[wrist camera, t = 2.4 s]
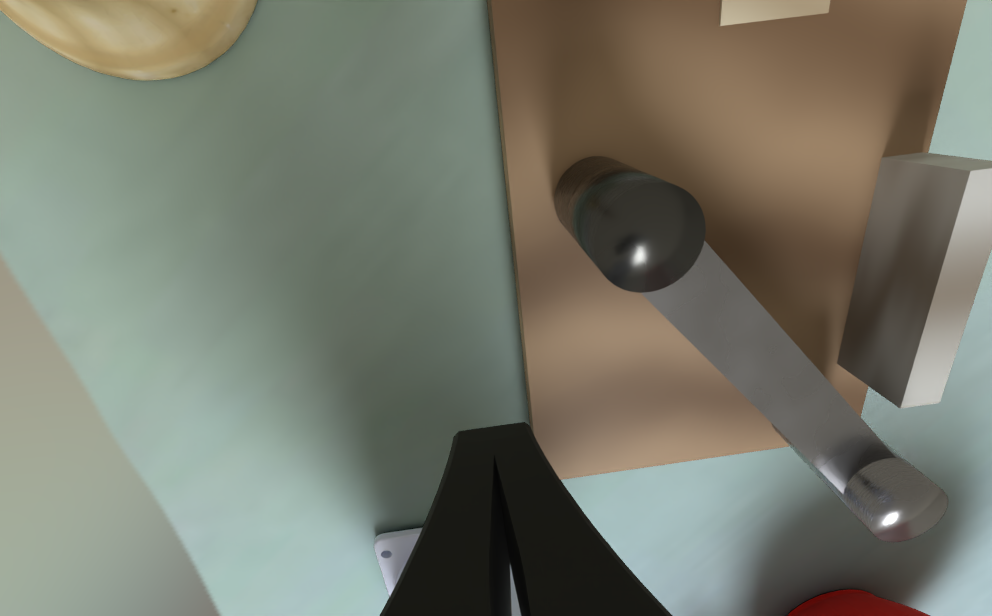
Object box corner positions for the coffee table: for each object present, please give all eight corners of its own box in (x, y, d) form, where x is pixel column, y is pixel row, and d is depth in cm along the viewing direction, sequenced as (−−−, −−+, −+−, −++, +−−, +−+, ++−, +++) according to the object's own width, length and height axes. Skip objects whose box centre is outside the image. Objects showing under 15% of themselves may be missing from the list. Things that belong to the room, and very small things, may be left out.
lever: (841, 409, 20) (963, 508, 15) (788, 447, 20) (889, 554, 16) (597, 137, 15) (666, 158, 10) (537, 200, 15) (574, 249, 10)
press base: (830, 415, 22) (915, 488, 18) (533, 458, 22) (551, 542, 18) (935, -56, 15) (1121, -113, 11) (486, -3, 14) (499, -41, 10)
